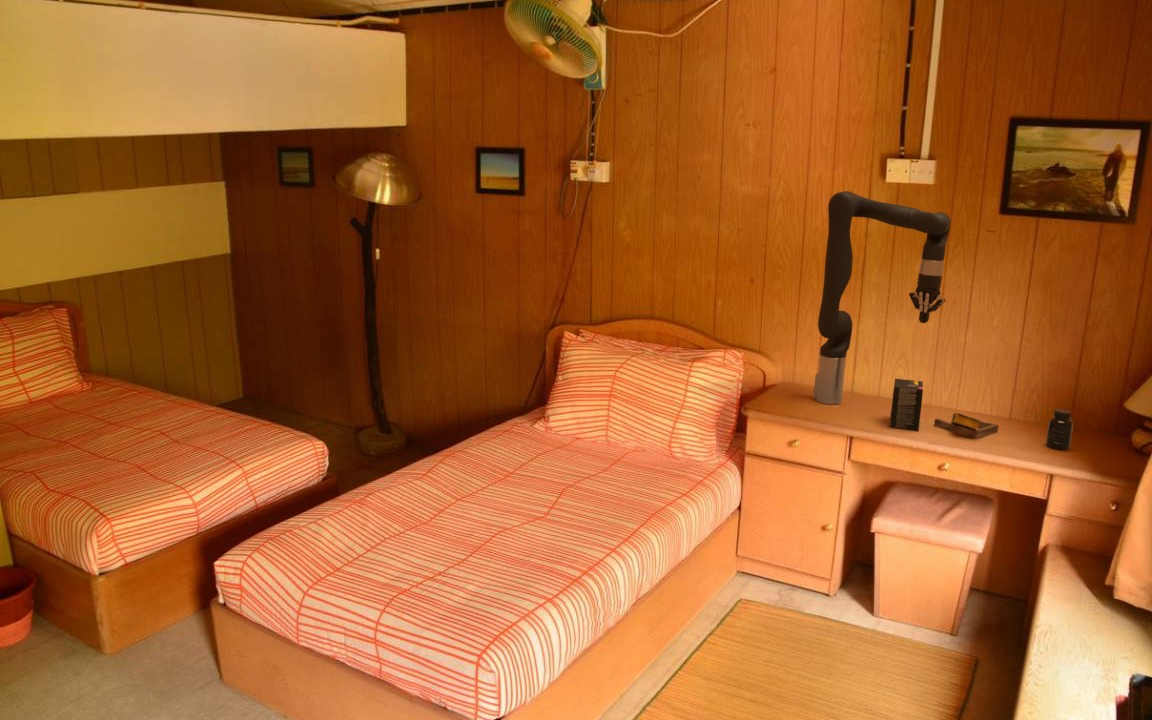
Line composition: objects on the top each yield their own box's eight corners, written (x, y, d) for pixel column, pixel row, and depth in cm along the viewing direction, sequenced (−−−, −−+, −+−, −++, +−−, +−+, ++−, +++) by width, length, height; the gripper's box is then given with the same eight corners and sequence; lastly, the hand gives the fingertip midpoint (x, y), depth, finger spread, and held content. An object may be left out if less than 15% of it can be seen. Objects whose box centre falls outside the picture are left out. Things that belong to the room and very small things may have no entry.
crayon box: (950, 423, 308) (954, 421, 297) (953, 415, 308) (958, 412, 297) (972, 431, 306) (978, 429, 295) (976, 422, 306) (981, 420, 295)
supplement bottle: (1048, 441, 297) (1054, 406, 294) (1071, 446, 293) (1077, 410, 290) (1043, 447, 292) (1048, 411, 289) (1066, 452, 288) (1072, 415, 285)
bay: (934, 425, 310) (934, 419, 309) (954, 419, 317) (955, 412, 316) (976, 439, 298) (977, 432, 297) (997, 431, 305) (998, 425, 304)
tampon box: (918, 431, 304) (924, 389, 300) (889, 428, 307) (894, 386, 303) (918, 421, 314) (923, 380, 310) (889, 418, 317) (894, 377, 313)
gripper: (906, 270, 311) (899, 319, 316) (942, 277, 301) (934, 328, 306) (919, 268, 315) (912, 317, 320) (954, 275, 305) (947, 325, 310)
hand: (923, 322), depth 313 cm, fingers closed
